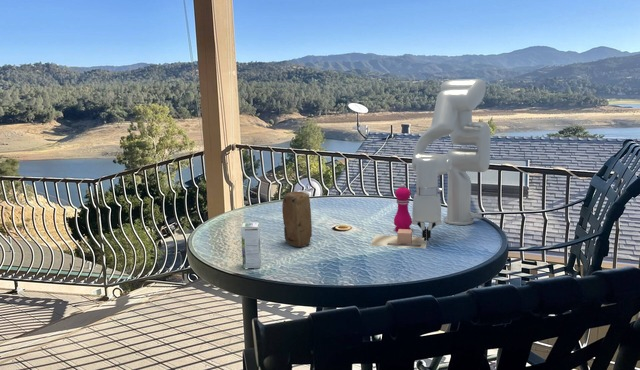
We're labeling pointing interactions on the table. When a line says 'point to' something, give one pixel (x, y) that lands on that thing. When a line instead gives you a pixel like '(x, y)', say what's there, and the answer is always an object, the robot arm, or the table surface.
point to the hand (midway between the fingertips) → (426, 239)
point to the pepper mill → (402, 209)
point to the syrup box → (251, 245)
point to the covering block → (404, 236)
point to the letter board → (392, 242)
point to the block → (297, 218)
